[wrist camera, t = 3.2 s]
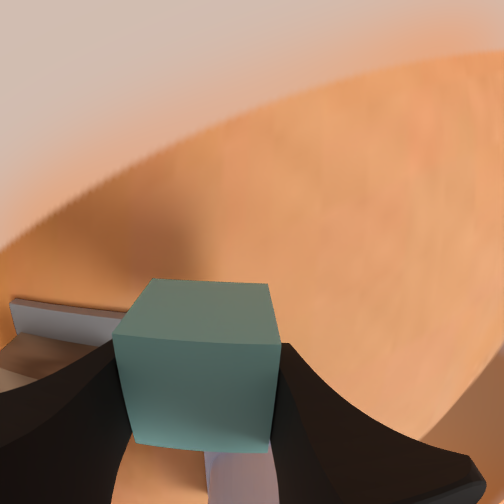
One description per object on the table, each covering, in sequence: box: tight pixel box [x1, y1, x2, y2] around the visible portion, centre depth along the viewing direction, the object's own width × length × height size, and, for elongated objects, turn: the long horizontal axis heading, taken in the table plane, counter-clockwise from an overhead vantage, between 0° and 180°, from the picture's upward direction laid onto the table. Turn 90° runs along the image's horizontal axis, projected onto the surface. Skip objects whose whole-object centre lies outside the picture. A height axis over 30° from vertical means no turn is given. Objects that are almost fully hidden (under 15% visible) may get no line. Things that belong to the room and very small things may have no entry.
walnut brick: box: [0, 332, 98, 393], centre depth 15 cm, size 8×4×4 cm, turn 87°
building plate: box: [9, 298, 126, 347], centre depth 17 cm, size 9×9×1 cm
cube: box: [112, 278, 282, 453], centre depth 9 cm, size 4×4×4 cm
